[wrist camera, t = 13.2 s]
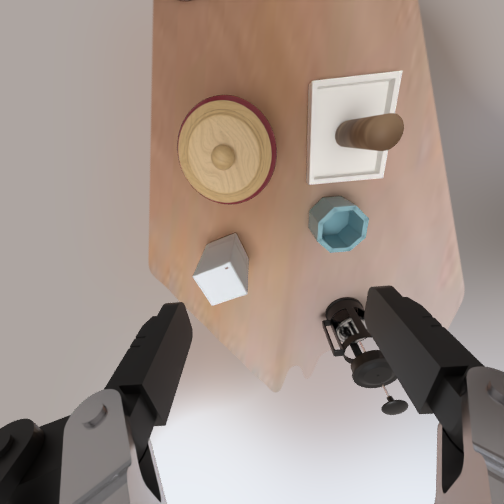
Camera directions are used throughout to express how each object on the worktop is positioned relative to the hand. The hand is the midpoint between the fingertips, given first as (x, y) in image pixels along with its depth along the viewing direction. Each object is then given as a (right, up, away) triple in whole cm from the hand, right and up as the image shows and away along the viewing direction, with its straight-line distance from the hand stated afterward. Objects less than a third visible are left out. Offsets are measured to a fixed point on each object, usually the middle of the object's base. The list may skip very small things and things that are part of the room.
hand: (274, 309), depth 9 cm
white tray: (+15, +23, +28) cm, 39 cm away
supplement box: (-6, +3, +39) cm, 39 cm away
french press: (+22, -13, +46) cm, 53 cm away
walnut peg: (+15, +23, +27) cm, 38 cm away
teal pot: (+15, +10, +35) cm, 39 cm away
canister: (-4, +21, +29) cm, 36 cm away
